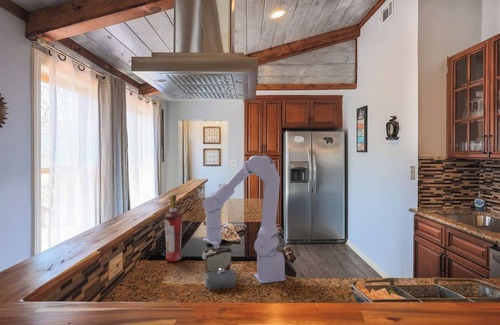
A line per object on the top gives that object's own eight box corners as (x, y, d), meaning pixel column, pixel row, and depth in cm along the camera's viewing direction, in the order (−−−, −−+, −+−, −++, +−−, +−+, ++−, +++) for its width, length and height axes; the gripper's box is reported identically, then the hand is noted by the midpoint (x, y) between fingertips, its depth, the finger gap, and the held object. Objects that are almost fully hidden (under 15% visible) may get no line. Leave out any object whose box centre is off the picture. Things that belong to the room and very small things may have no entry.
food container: (223, 269, 114) (222, 243, 114) (233, 273, 109) (232, 246, 109) (195, 277, 105) (195, 250, 105) (205, 283, 101) (204, 254, 101)
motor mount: (232, 278, 105) (232, 261, 105) (237, 286, 97) (236, 268, 97) (204, 281, 102) (204, 264, 102) (207, 290, 95) (206, 271, 95)
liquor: (161, 260, 124) (160, 195, 124) (175, 256, 130) (174, 193, 129) (171, 264, 119) (170, 196, 119) (186, 259, 125) (185, 194, 125)
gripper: (201, 223, 119) (201, 257, 119) (205, 232, 105) (206, 269, 105) (218, 222, 121) (218, 255, 121) (224, 230, 107) (225, 267, 107)
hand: (213, 261), depth 113 cm, fingers closed
